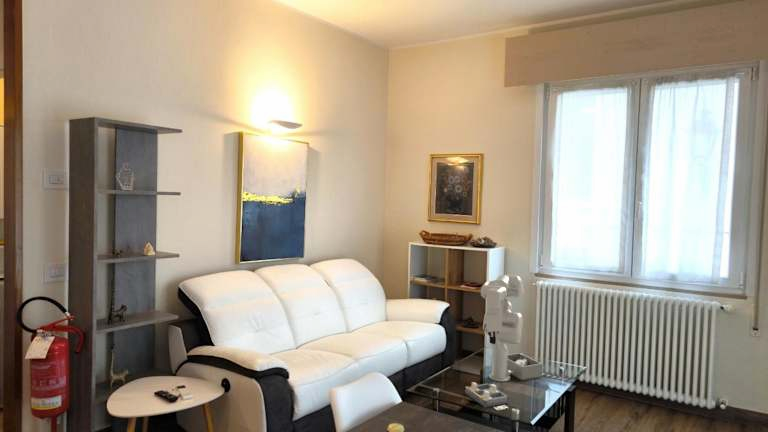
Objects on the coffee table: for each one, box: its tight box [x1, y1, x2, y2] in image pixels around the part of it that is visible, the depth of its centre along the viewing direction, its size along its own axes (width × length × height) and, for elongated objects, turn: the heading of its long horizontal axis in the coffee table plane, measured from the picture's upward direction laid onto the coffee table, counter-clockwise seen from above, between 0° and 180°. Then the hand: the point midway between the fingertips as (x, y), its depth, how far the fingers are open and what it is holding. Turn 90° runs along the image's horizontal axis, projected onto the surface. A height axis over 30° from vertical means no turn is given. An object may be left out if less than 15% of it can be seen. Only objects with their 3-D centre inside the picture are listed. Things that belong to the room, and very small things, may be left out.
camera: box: [515, 352, 528, 366], centre depth 333 cm, size 15×8×10 cm, turn 148°
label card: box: [493, 404, 509, 411], centre depth 281 cm, size 7×4×1 cm, turn 113°
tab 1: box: [470, 381, 479, 391], centre depth 297 cm, size 4×4×5 cm
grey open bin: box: [508, 352, 543, 381], centre depth 333 cm, size 15×22×8 cm
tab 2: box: [481, 390, 491, 399], centre depth 286 cm, size 4×4×5 cm
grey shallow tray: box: [464, 382, 510, 408], centre depth 294 cm, size 15×20×4 cm
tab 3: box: [488, 383, 498, 393], centre depth 295 cm, size 4×4×5 cm
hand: (492, 343), depth 298 cm, fingers closed
